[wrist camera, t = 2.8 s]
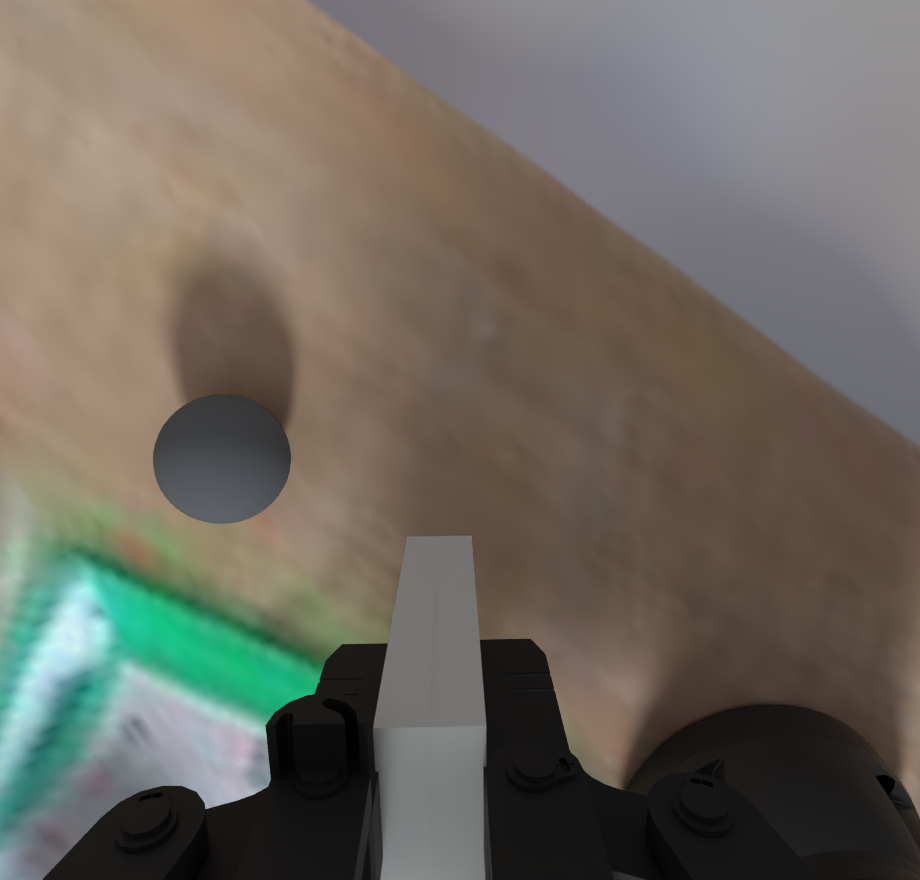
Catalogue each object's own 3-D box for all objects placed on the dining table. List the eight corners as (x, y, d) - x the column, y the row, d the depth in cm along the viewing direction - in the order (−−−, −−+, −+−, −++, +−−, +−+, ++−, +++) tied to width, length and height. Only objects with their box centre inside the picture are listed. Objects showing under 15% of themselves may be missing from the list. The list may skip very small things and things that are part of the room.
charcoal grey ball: (298, 384, 29) (265, 406, 24) (307, 498, 31) (277, 542, 25) (179, 386, 29) (118, 408, 24) (192, 500, 31) (137, 545, 25)
